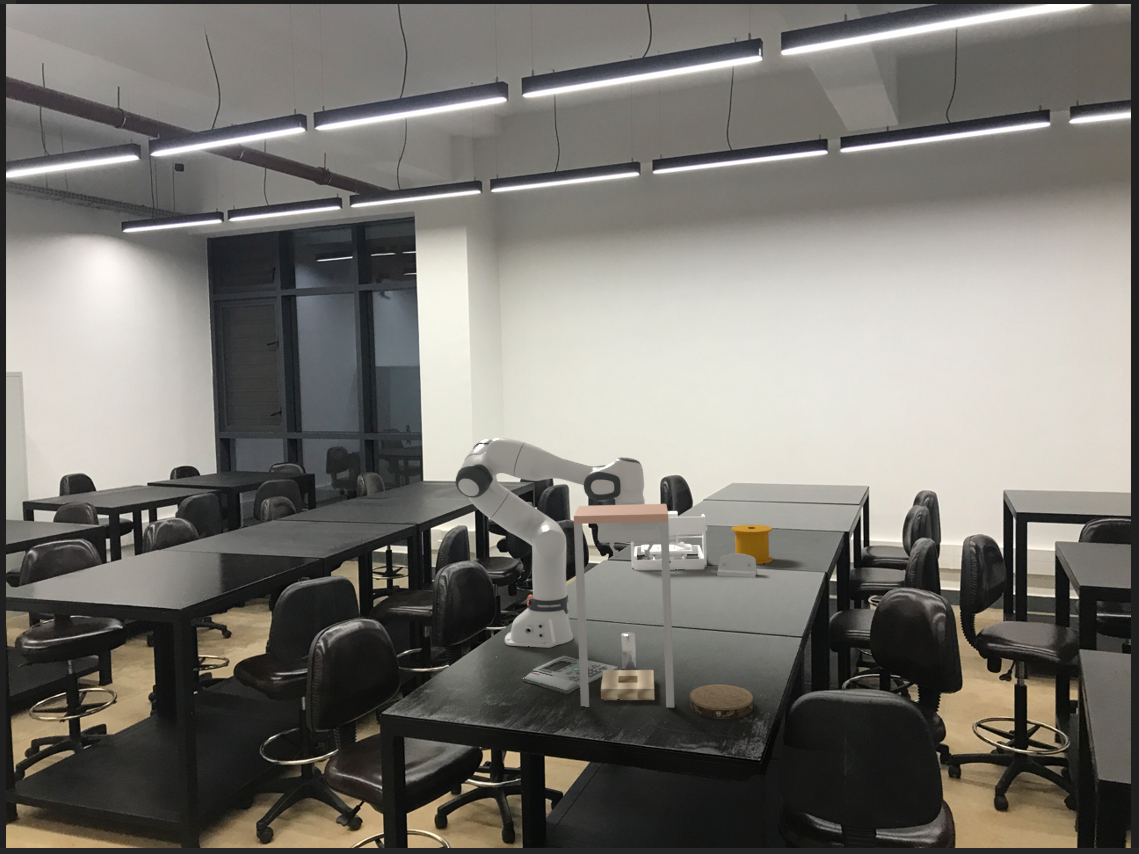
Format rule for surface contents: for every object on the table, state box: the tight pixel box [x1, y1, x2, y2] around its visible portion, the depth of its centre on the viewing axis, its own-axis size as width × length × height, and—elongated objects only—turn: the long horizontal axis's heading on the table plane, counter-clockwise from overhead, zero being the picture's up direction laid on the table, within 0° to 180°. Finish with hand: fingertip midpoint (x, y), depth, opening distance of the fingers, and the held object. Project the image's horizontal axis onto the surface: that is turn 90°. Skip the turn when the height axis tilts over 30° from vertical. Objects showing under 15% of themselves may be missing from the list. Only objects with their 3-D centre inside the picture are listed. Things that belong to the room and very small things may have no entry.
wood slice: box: [689, 683, 754, 720], centre depth 209 cm, size 16×16×3 cm
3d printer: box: [630, 510, 708, 571], centre depth 376 cm, size 35×32×25 cm
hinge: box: [716, 553, 758, 578], centre depth 347 cm, size 17×5×10 cm, turn 70°
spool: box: [730, 524, 773, 565], centre depth 373 cm, size 18×18×15 cm
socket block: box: [600, 669, 655, 701], centre depth 222 cm, size 14×14×3 cm
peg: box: [620, 631, 637, 670], centre depth 239 cm, size 4×4×10 cm
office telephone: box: [522, 655, 619, 690], centre depth 236 cm, size 23×3×20 cm
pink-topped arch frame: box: [573, 503, 675, 708], centre depth 217 cm, size 24×17×50 cm
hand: (631, 556), depth 248 cm, fingers open, 8 cm apart
